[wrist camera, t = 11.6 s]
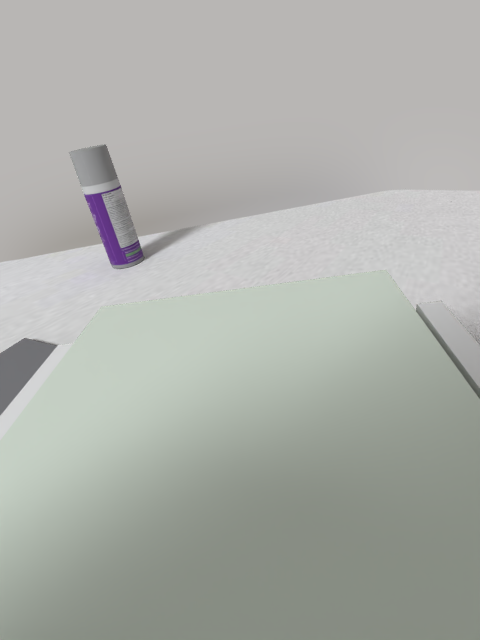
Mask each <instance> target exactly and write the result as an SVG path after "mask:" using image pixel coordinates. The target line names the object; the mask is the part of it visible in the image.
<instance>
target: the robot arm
mask: <svg viewBox="0 0 480 640" xmlns="http://www.w3.org/2000/svg"><path fill="white" fill-rule="evenodd" d="M416 312H417V313H418V315H419V316H420V317H421V319H422V320H423V322H424V323H425V324H426V326H427V327H428V328H429V330H430V331H431V333H432V334H433V335H434V337H435V338H436V340H437V341H438V342H439V344H440V345H441V346H442V348H443V349H444V351H445V352H446V353H447V355H448V356H449V357H450V359H451V360H452V362H453V363H454V364H455V366H456V367H457V369H458V370H459V371H460V373H461V374H462V375H463V377H464V378H465V380H466V381H467V382H468V384H469V385H470V386H471V388H472V389H473V391H474V392H475V393H476V395H477V396H478V398H479V399H480V344H479V343H478V342H477V341H476V340H475V339H474V337H473V336H472V335H471V334H470V333H469V332H468V331H467V329H466V328H465V327H464V326H463V325H462V324H461V323H460V321H459V320H458V319H457V318H456V317H455V316H454V315H453V313H452V312H451V311H450V310H449V309H448V308H447V307H446V305H445V304H444V303H443V302H442V301H436V302H427V303H419V304H417V308H416ZM72 345H73V343H70V344H61V345H58V346H57V347H56V348H55V349H54V351H53V352H52V353H51V354H50V356H49V357H48V358H47V359H46V360H45V362H44V363H43V364H42V365H41V367H40V368H39V369H38V370H37V371H36V373H35V374H34V375H33V376H32V378H31V379H30V380H29V381H28V382H27V384H26V385H25V386H24V387H23V389H22V390H21V391H20V392H19V393H18V395H17V396H16V397H15V398H14V400H13V401H12V402H11V403H10V404H9V406H8V407H7V408H6V409H5V411H4V412H3V413H2V414H1V415H0V440H1V439H2V437H3V436H4V435H5V434H6V432H7V431H8V430H9V428H10V427H11V426H12V424H13V423H14V422H15V420H16V419H17V418H18V416H19V415H20V414H21V412H22V411H23V410H24V408H25V407H26V406H27V404H28V403H29V402H30V400H31V399H32V398H33V396H34V395H35V394H36V392H37V391H38V390H39V388H40V387H41V386H42V384H43V383H44V382H45V380H46V379H47V378H48V377H49V375H50V374H51V373H52V371H53V370H54V369H55V367H56V366H57V365H58V363H59V362H60V361H61V359H62V358H63V357H64V355H65V354H66V353H67V351H68V350H69V349H70V347H71V346H72Z"/></svg>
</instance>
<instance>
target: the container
mask: <svg viewBox="0 0 480 640" xmlns="http://www.w3.org/2000/svg"><path fill="white" fill-rule="evenodd" d="M69 154H70V156H71V159H72V162H73V165H74V167H75V170H76V173H77V176H78V178H79V181H80V184H81V187H82V190H83V193H84V195H85V198H86V201H87V203H88V205H89V208H90V211H91V213H92V216H93V218H94V221H95V224H96V226H97V229H98V231H99V234H100V237H101V239H102V242H103V244H104V247H105V250H106V252H107V255H108V257H109V260H110V262H111V265H112V267H113V268H116V269H122V268H127V267H131V266H134V265H136V264H138V263H140V262H141V261H143V259H144V255H143V252H142V249H141V246H140V243H139V240H138V237H137V234H136V231H135V228H134V225H133V222H132V219H131V216H130V213H129V210H128V207H127V204H126V201H125V197H124V194H123V192H122V188H121V185H120V183H119V180H118V177H117V175H116V172H115V169H114V166H113V163H112V160H111V158H110V155H109V152H108V149H107V146H106V145H99V146H93V147H89V148H84V149H79V150H75V151H71V152H69Z"/></svg>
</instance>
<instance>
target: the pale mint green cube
mask: <svg viewBox="0 0 480 640" xmlns="http://www.w3.org/2000/svg"><path fill="white" fill-rule="evenodd" d="M0 640H480V399H479V398H478V396H477V395H476V393H475V392H474V391H473V389H472V388H471V386H470V385H469V384H468V382H467V381H466V380H465V378H464V377H463V375H462V374H461V373H460V371H459V370H458V369H457V367H456V366H455V364H454V363H453V362H452V360H451V359H450V357H449V356H448V355H447V353H446V352H445V351H444V349H443V348H442V346H441V345H440V344H439V342H438V341H437V340H436V338H435V337H434V335H433V334H432V333H431V331H430V330H429V328H428V327H427V326H426V324H425V323H424V322H423V320H422V319H421V317H420V316H419V315H418V313H417V312H416V310H415V309H414V308H413V306H412V305H411V304H410V302H409V301H408V299H407V298H406V297H405V295H404V294H403V293H402V291H401V290H400V288H399V287H398V286H397V284H396V283H395V281H394V280H393V279H392V277H391V276H390V275H389V273H388V272H387V270H380V271H372V272H365V273H357V274H349V275H342V276H334V277H326V278H319V279H311V280H303V281H295V282H288V283H280V284H272V285H265V286H257V287H249V288H242V289H234V290H226V291H219V292H211V293H203V294H196V295H188V296H180V297H172V298H165V299H157V300H149V301H142V302H134V303H126V304H119V305H111V306H103V307H101V308H100V309H99V310H98V312H97V313H96V314H95V316H94V317H93V318H92V320H91V321H90V322H89V324H88V325H87V326H86V327H85V329H84V330H83V331H82V333H81V334H80V335H79V337H78V338H77V339H76V341H75V342H74V343H73V345H72V346H71V347H70V349H69V350H68V351H67V353H66V354H65V355H64V357H63V358H62V359H61V361H60V362H59V363H58V365H57V366H56V367H55V369H54V370H53V371H52V373H51V374H50V375H49V377H48V378H47V379H46V380H45V382H44V383H43V384H42V386H41V387H40V388H39V390H38V391H37V392H36V394H35V395H34V396H33V398H32V399H31V400H30V402H29V403H28V404H27V406H26V407H25V408H24V410H23V411H22V412H21V414H20V415H19V416H18V418H17V419H16V420H15V422H14V423H13V424H12V426H11V427H10V428H9V430H8V431H7V432H6V434H5V435H4V436H3V437H2V439H1V440H0Z"/></svg>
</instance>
